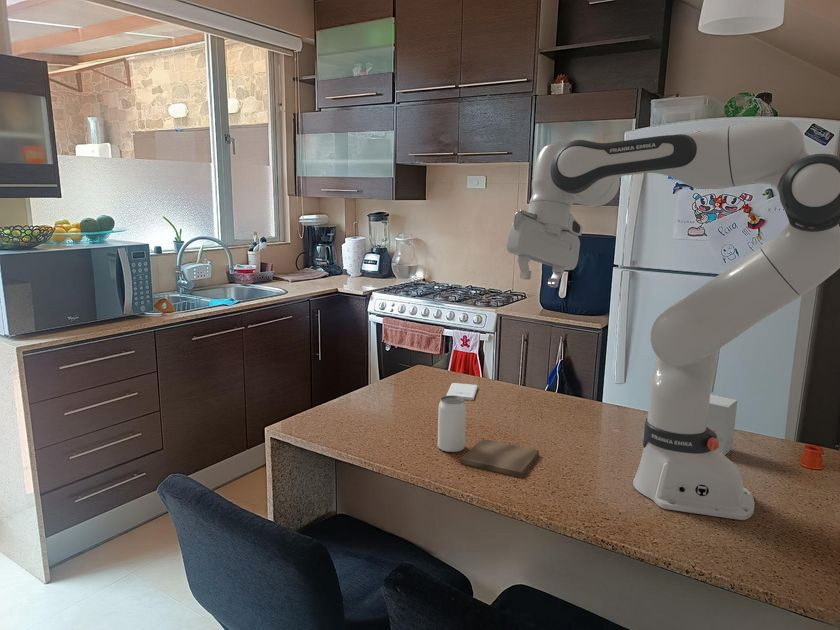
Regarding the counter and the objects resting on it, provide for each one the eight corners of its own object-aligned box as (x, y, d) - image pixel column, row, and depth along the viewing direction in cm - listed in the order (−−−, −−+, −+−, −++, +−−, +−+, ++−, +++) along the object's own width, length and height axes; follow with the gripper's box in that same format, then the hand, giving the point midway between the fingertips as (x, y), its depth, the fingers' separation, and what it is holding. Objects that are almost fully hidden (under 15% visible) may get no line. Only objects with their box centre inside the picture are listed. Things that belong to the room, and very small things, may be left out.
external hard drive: (477, 389, 189) (473, 402, 178) (451, 387, 191) (445, 400, 179) (477, 384, 189) (473, 397, 177) (451, 382, 191) (445, 394, 179)
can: (469, 446, 145) (471, 398, 142) (456, 455, 139) (458, 405, 137) (446, 440, 148) (447, 393, 146) (432, 449, 143) (433, 400, 140)
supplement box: (732, 449, 146) (739, 399, 143) (722, 459, 140) (729, 407, 138) (700, 441, 151) (706, 392, 148) (690, 449, 145) (695, 399, 143)
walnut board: (538, 455, 140) (538, 450, 140) (521, 477, 129) (521, 472, 129) (482, 443, 147) (482, 438, 146) (460, 463, 135) (460, 458, 135)
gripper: (528, 205, 121) (519, 274, 121) (587, 229, 134) (579, 291, 134) (504, 208, 126) (495, 273, 125) (563, 231, 139) (555, 290, 139)
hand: (539, 283), depth 130 cm, fingers open, 8 cm apart
